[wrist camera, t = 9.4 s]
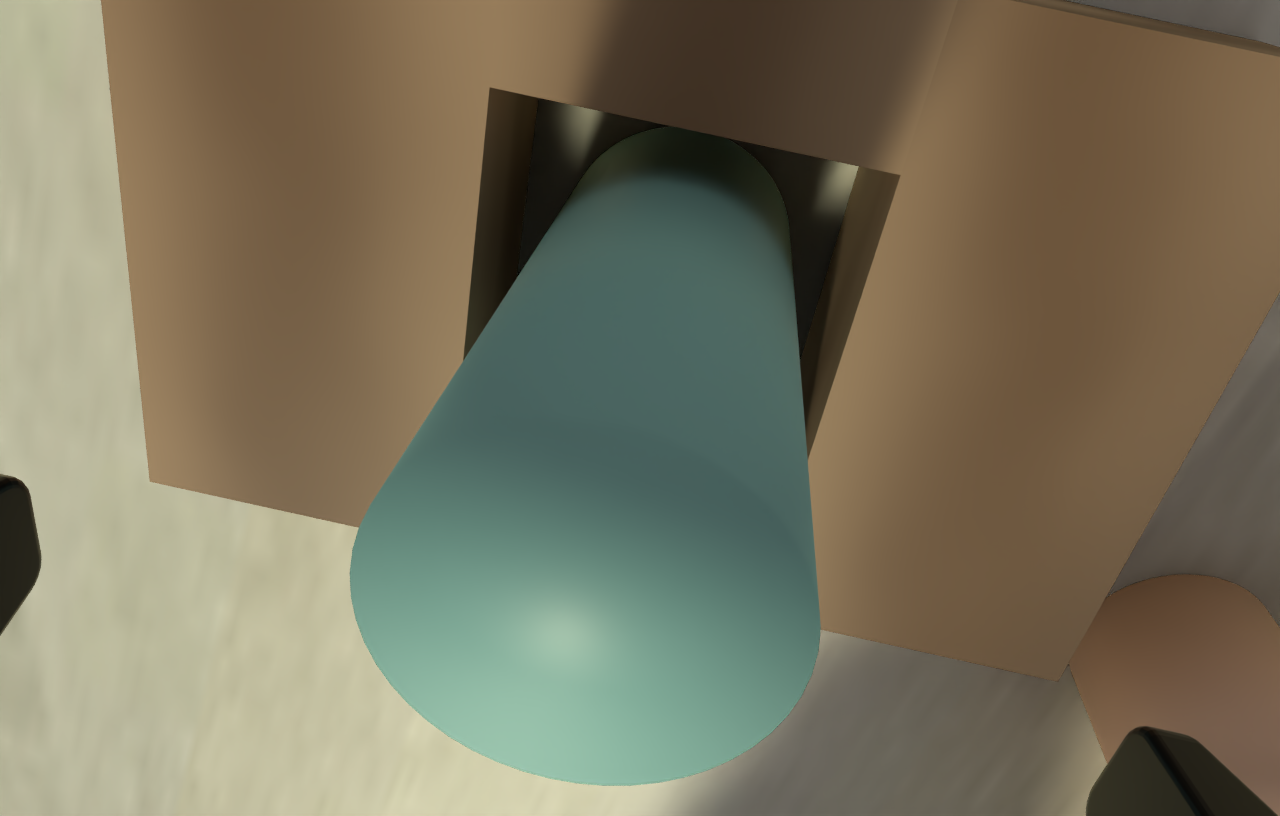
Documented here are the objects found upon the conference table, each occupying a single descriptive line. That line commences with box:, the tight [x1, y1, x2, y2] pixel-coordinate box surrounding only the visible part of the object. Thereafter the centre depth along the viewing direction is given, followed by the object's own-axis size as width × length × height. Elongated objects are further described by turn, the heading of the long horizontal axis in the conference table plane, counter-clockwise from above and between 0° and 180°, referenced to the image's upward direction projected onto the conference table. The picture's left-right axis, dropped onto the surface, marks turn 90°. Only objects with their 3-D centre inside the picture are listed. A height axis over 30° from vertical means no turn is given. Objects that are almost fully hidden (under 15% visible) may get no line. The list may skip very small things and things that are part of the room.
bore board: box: [101, 0, 1280, 682], centre depth 15 cm, size 16×10×4 cm, turn 80°
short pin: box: [1069, 574, 1280, 816], centre depth 17 cm, size 4×4×5 cm
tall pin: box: [350, 127, 821, 786], centre depth 12 cm, size 4×4×10 cm
